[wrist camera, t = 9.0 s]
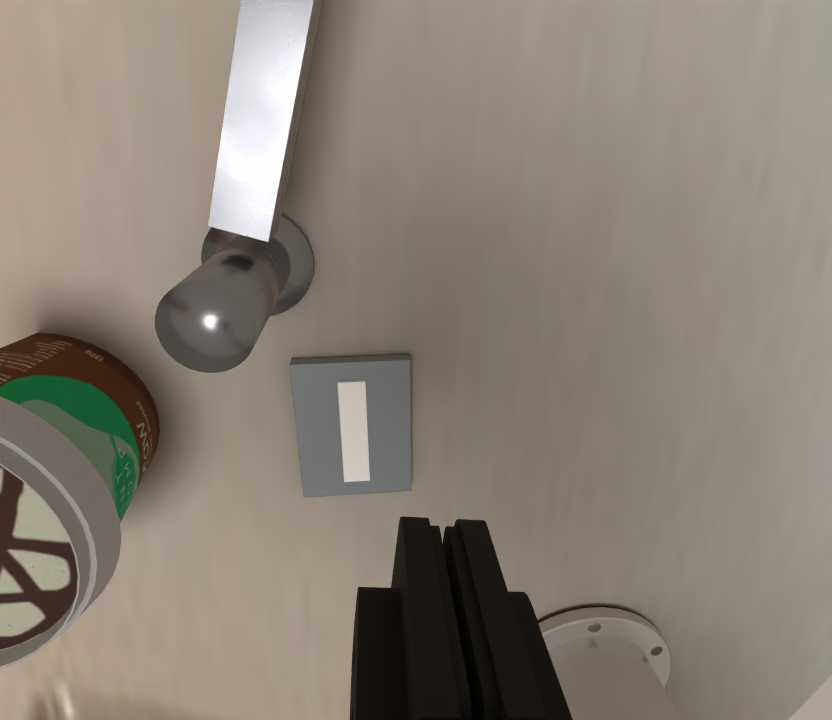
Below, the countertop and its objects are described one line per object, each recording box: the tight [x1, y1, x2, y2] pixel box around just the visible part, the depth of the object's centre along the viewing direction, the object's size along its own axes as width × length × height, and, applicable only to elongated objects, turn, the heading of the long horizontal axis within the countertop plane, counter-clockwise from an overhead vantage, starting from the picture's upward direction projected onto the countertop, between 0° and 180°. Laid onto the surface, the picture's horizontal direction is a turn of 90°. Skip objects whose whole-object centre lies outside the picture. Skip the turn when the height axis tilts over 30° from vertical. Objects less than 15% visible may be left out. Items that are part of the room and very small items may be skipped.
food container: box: [0, 333, 160, 669], centre depth 23 cm, size 12×6×10 cm, turn 177°
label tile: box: [290, 354, 411, 497], centre depth 29 cm, size 8×6×1 cm
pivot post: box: [155, 214, 314, 373], centre depth 21 cm, size 5×5×10 cm
